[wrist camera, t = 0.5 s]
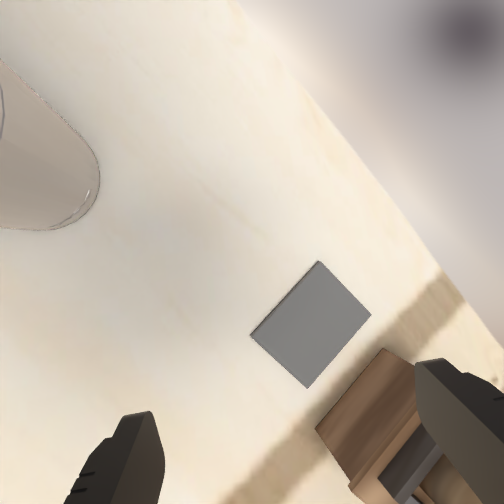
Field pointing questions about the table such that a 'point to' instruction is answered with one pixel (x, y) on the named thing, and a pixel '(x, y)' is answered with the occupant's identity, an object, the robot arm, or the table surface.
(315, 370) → the rubber mat
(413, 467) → the wooden box
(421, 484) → the wooden cylinder
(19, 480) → the table surface
